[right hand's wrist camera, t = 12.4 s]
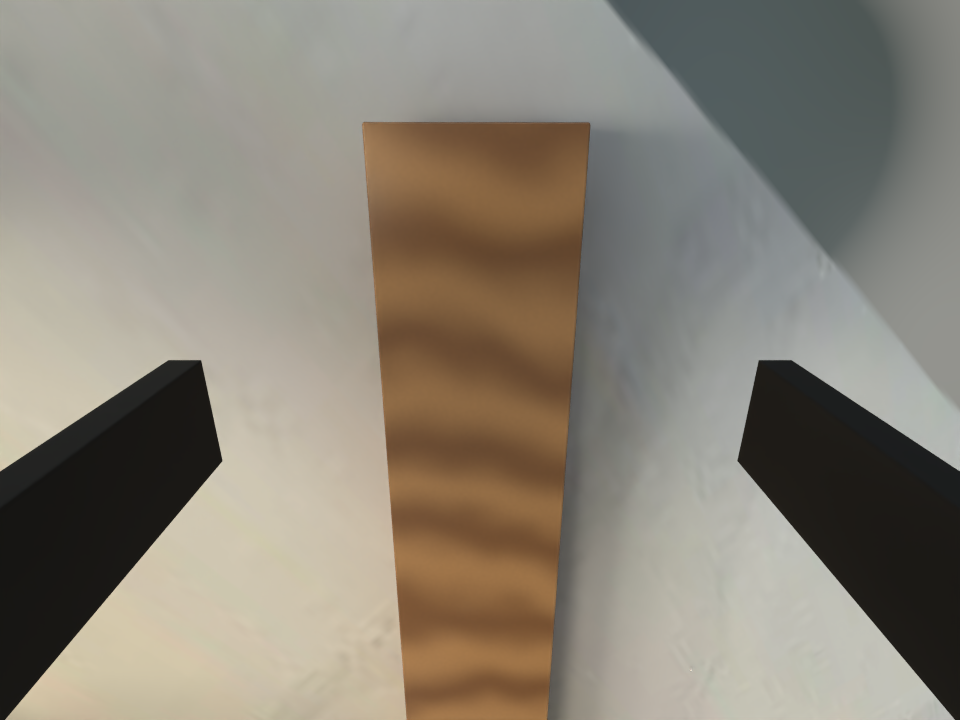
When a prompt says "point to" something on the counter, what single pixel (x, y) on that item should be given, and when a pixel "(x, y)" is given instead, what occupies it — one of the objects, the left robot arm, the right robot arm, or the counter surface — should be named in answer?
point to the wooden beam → (476, 397)
